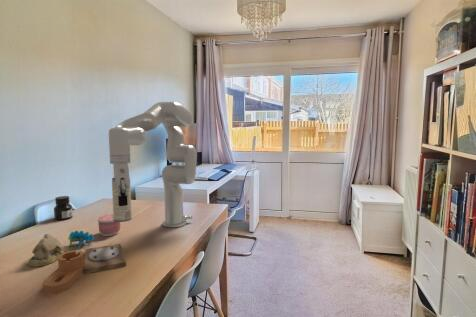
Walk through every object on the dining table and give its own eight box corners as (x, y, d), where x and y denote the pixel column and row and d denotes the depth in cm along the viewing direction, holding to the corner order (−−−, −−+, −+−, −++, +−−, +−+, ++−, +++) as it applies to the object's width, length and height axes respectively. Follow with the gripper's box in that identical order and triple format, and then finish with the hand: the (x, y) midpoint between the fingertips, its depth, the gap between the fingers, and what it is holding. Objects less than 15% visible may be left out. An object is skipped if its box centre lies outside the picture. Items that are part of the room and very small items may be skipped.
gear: (98, 237, 144) (86, 228, 136) (95, 250, 140) (82, 241, 132) (76, 240, 145) (63, 230, 138) (72, 252, 142) (58, 243, 134)
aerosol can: (133, 216, 131) (132, 169, 128) (128, 222, 124) (126, 171, 122) (117, 216, 131) (115, 169, 128) (110, 222, 124) (108, 171, 121)
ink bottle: (66, 220, 173) (65, 199, 172) (50, 220, 173) (49, 199, 172) (76, 215, 183) (74, 195, 181) (60, 215, 183) (59, 195, 182)
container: (113, 237, 148) (112, 221, 147) (93, 236, 150) (92, 220, 150) (125, 230, 159) (124, 214, 158) (106, 228, 161) (106, 213, 160)
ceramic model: (42, 252, 133) (40, 229, 132) (70, 251, 134) (68, 228, 133) (22, 267, 119) (20, 242, 118) (53, 266, 120) (51, 241, 119)
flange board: (120, 246, 138) (120, 240, 138) (125, 265, 120) (125, 258, 120) (85, 252, 132) (84, 245, 132) (84, 273, 114) (84, 265, 114)
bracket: (66, 268, 119) (65, 250, 118) (88, 267, 119) (87, 250, 118) (37, 294, 101) (36, 274, 100) (64, 294, 101) (63, 273, 100)
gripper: (133, 161, 118) (135, 207, 120) (127, 156, 134) (128, 197, 136) (112, 162, 115) (114, 210, 117) (107, 157, 130) (109, 199, 132)
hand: (121, 203), depth 126 cm, fingers closed on aerosol can, 6 cm apart
